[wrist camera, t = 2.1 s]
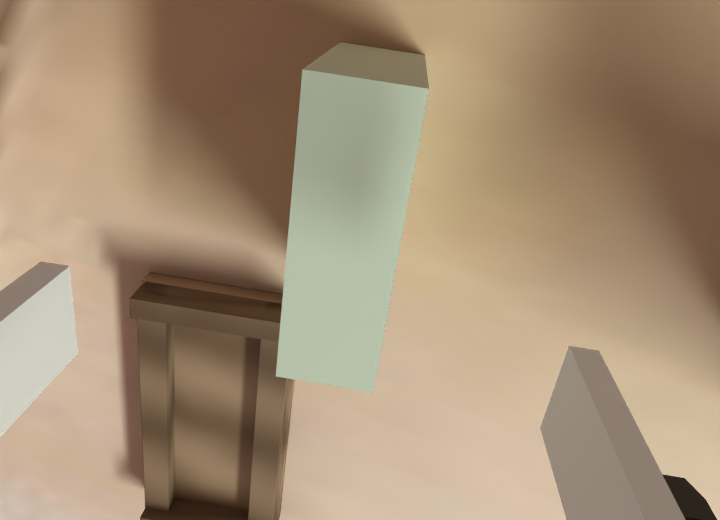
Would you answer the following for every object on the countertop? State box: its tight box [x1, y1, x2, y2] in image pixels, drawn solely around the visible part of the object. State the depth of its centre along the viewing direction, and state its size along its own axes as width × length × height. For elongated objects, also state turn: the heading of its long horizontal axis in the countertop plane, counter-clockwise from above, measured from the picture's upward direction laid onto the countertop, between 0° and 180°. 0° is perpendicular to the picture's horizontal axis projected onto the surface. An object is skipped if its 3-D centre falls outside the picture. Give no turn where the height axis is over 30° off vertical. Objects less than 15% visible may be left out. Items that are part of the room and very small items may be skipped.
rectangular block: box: [276, 42, 429, 393], centre depth 25 cm, size 12×4×10 cm, turn 172°
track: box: [130, 273, 294, 520], centre depth 36 cm, size 18×9×3 cm, turn 172°
